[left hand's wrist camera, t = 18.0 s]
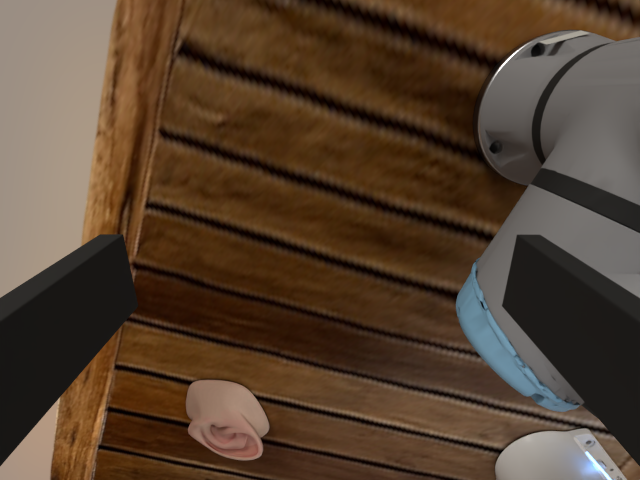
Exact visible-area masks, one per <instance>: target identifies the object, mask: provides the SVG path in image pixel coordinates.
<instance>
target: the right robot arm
mask: <svg viewBox="0 0 640 480" xmlns="http://www.w3.org/2000/svg"><path fill="white" fill-rule="evenodd" d="M495 474H496V480H627V479H626V478H625V476H624V475H623V473H622V472H621V471H620V469H619V468H618V467H617V465H616V464H615V463H614V461H613V460H612V459H611V458H610V456H609V455H608V454H607V452H606V451H605V450H604V448H603V447H602V446H601V444H600V443H599V442H598V441H597V439H596V438H595V437H594V435H593V434H592V433H591V431H590V430H588V429H586V428H582V429H576V430H572V431H567V432H561V431H544V432H538V433H533V434H530V435H527V436H525V437H522V438H520V439H518V440H516V441H515V442H513V443H512V444H510V445H509V446H508V447H507V448H506V449H505V450H504V451H503V452H502V453H501V454H500V456H499V457H498V459H497V462H496V465H495Z"/></svg>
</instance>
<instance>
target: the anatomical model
mask: <svg viewBox="0 0 640 480" xmlns="http://www.w3.org/2000/svg"><path fill="white" fill-rule="evenodd" d="M186 411H187V415H188V416H189V418H190V419H191V420H192V422H191V423H190V425H189V428H188V432H189V434H190V435H191V436H192V437H193V438H195V439H196V440H197V441H199V442H200V443H202V444H203V445H204V446H206V447H207V448H209V449H210V450H212V451H213V452H215V453H217V454H219V455H221V456H224V457H227V458H231V459H236V460H253V459H256V458H258V457H260V456H261V455H262V452H263V444H262V441H261V439H260V438H261V437H263V436H264V435H265V434H266V433H267V432H268V430H269V422H268V419H267V417H266V415H265V413H264V411H263V409H262V407H261V405H260V404H259V402H258V401H257V399H256V398H255V397H254V395H253V394H252V393H251V392H250V391H249V390H248V389H247V388H245V387H244V386H242V385H240V384H237V383H234V382H229V381H222V380H199V381H195V382H193V383H192V384H191V385H190V387H189V389H188V392H187V398H186Z"/></svg>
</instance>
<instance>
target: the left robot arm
mask: <svg viewBox="0 0 640 480" xmlns="http://www.w3.org/2000/svg"><path fill="white" fill-rule="evenodd" d="M473 132H474V138H475V143H476V146H477V149H478V151H479V153H480V155H481V157H482V158H483V160H484V161H485V162H486V164H487V165H488V166H489V167H490V168H491V169H492V170H493V171H495V172H496V173H497V174H499V175H501V176H503V177H505V178H507V179H509V180H511V181H514V182H516V183H519V184H523V185H528V187H527V189H526V190H525V192H524V193H523V195H522V196H521V198H520V199H519V201H518V202H517V204H516V205H515V207H514V208H513V210H512V211H511V213H510V214H509V216H508V217H507V219H506V220H505V222H504V223H503V225H502V226H501V228H500V229H499V231H498V232H497V234H496V235H495V237H494V239H493V240H492V241H491V243H490V244H489V246H488V247H487V249H486V250H485V251H484V253H483V254H482V256H481V257H480V258H478V259H477V260H476V261H475V263H474V264H473V266H472V271H471V273H470V275H469V277H468V278H467V280H466V282H465V284H464V285H463V287H462V289H461V290H460V292H459V294H458V296H457V300H456V311H457V316H458V318H459V323H460V325H461V328H462V330H463V332H464V333H465V335H466V337H467V339H468V340H469V342H470V343H471V345H472V346H473V347H474V349H475V350H476V351H477V352H478V354H479V355H480V356H481V357H482V358H483V360H484V361H485V362H486V363H487V364H488V365H489V366H490V367H491V368H492V369H493V370H494V371H495V372H496V373H497V374H498V375H499V376H500V377H501V378H502V379H503V380H504V381H506V382H507V383H508V384H509V385H510V386H512V387H513V388H514V389H515V390H517V391H518V392H520V393H521V394H523V395H524V396H531V397H532V399H533V400H534V401H535V402H536V403H537V404H539V405H541V406H543V407H545V408H547V409H550V410H553V411H561V412H564V411H568V410H570V409H576V408H577V407H579V406H580V404H581V405H582V406H583V407H585V408H586V409H587V410H588V411H590V412H591V413H592V414H593V415H595V416H596V417H597V418H598V419H600V421H601V422H602V423H603V424H604V425H605V426H606V428H607V429H608V430H609V431H610V432H611V433H612V435H613V436H614V437H615V438H616V439H617V440H618V442H619V443H620V444H621V445H622V446H623V447H624V448H625V450H626V451H627V452H628V453H629V454H630V455H631V457H632V458H633V459H634V460H635V461H636V462H637V464H638V465H639V466H640V37H637V38H632V39H627V40H622V41H617V42H616V41H614V40H611V39H608V38H605V37H602V36H600V35H597V34H594V33H591V32H587V31H581V30H563V31H557V32H553V33H549V34H545V35H542V36H539V37H536V38H533V39H531V40H528V41H526V42H525V43H523V44H521V45H519V46H518V47H516V48H515V49H513V50H512V51H511V52H509V53H508V54H507V55H506V56H505V57H504V58H503V59H502V60H501V61H500V62H499V63H498V64H497V65H496V66H495V67H494V69H493V70H492V71H491V73H490V74H489V76H488V77H487V79H486V80H485V82H484V84H483V86H482V88H481V90H480V93H479V95H478V98H477V101H476V105H475V109H474V116H473ZM137 307H138V303H137V298H136V294H135V289H134V284H133V279H132V275H131V270H130V265H129V260H128V256H127V251H126V246H125V242H124V237H123V235H99V236H97V237H95V238H94V239H92V240H91V241H89V242H88V243H86V244H84V245H83V246H81V247H80V248H78V249H77V250H75V251H73V252H72V253H70V254H69V255H67V256H66V257H64V258H62V259H61V260H59V261H58V262H56V263H55V264H53V265H51V266H50V267H48V268H47V269H45V270H44V271H42V272H40V273H39V274H37V275H36V276H34V277H33V278H31V279H29V280H28V281H26V282H25V283H23V284H22V285H20V286H18V287H17V288H15V289H14V290H12V291H11V292H9V293H7V294H6V295H4V296H3V297H1V298H0V466H1V465H2V464H3V462H4V461H5V460H6V459H7V458H8V457H9V455H10V454H11V453H12V452H13V451H14V450H15V448H16V447H17V446H18V445H19V444H20V443H21V441H22V440H23V439H24V438H25V437H26V436H27V435H28V433H29V432H30V431H31V430H32V429H33V428H34V426H35V425H36V424H37V423H38V422H39V421H40V419H41V418H42V417H43V416H44V415H45V414H46V412H47V411H48V410H49V409H50V408H51V407H52V405H53V404H54V403H55V402H56V401H57V400H58V399H59V397H60V396H61V395H62V394H63V393H64V392H65V390H66V389H67V388H68V387H69V386H70V385H71V383H72V382H73V381H74V380H75V379H76V378H77V376H78V375H79V374H80V373H81V372H82V371H83V370H84V368H85V367H86V366H87V365H88V364H89V363H90V361H91V360H92V359H93V358H94V357H95V356H96V354H97V353H98V352H99V351H100V350H101V349H102V347H103V346H104V345H105V344H106V343H107V342H108V340H109V339H110V338H111V337H112V336H113V335H114V334H115V332H116V331H117V330H118V329H119V328H120V327H121V325H122V324H123V323H124V322H125V321H126V320H127V318H128V317H129V316H130V315H131V314H132V313H133V311H134V310H135V309H136V308H137Z"/></svg>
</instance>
